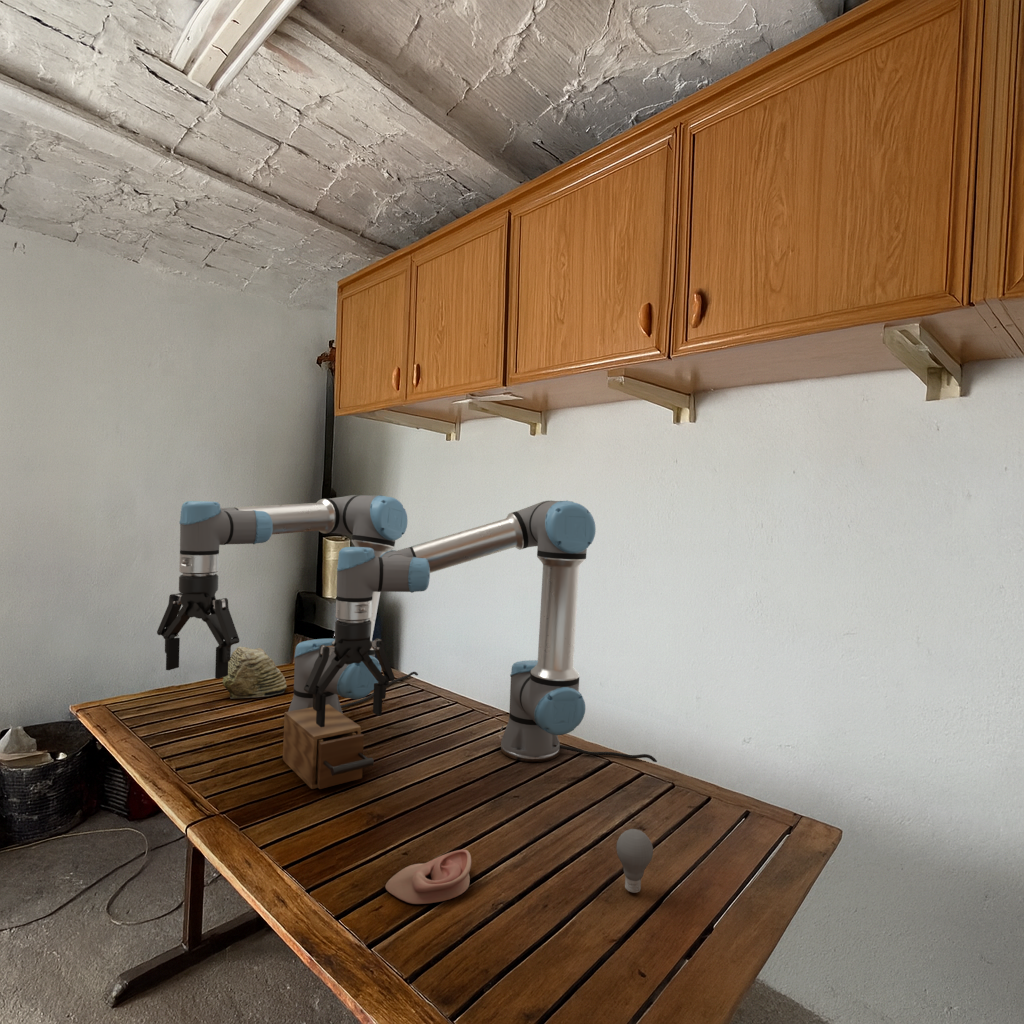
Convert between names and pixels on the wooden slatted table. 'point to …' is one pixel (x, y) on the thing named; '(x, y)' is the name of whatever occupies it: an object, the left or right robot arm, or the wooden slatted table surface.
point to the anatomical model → (432, 879)
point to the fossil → (253, 674)
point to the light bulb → (634, 857)
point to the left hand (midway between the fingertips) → (196, 672)
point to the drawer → (340, 759)
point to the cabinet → (310, 738)
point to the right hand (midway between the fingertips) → (349, 719)
